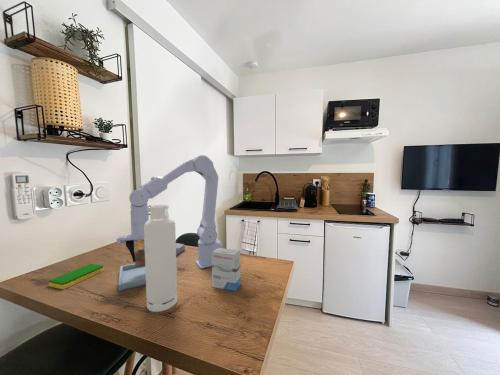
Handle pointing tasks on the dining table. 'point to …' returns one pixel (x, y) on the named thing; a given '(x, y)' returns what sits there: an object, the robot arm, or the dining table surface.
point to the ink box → (226, 269)
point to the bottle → (160, 259)
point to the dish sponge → (75, 276)
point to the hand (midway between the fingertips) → (141, 259)
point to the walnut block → (139, 257)
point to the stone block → (179, 248)
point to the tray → (131, 277)
